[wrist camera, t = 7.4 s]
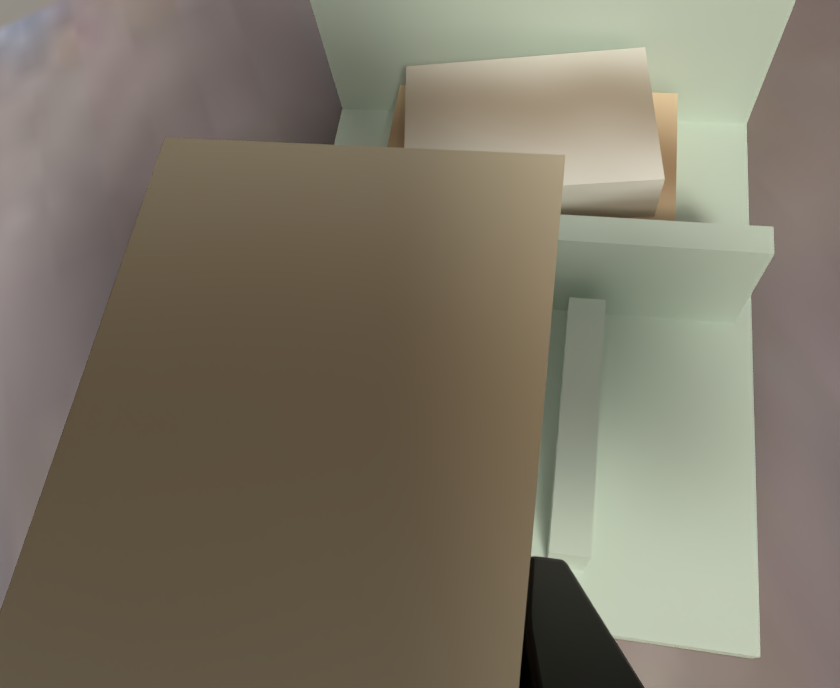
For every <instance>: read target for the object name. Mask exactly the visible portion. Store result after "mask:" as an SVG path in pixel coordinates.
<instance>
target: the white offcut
mask: <svg viewBox="0 0 840 688" xmlns="http://www.w3.org/2000/svg"><path fill="white" fill-rule="evenodd" d="M404 148H419V149H441V150H464V151H486V152H508V153H531V154H553V155H565V167H564V179H563V190H562V202H561V213H560V214H562V215H579V216H596V217H614V218H632V217H650V216H655V212H656V209H657V205H658V202H659V198H660V195H661V191H662V188H663V184H664V180H665V177H664V170H663V163H662V157H661V150H660V143H659V137H658V130H657V123H656V116H655V110H654V103H653V96H652V90H651V83H650V76H649V70H648V63H647V56H646V50H645V47H640V48H628V49H615V50H603V51H590V52H578V53H566V54H553V55H541V56H528V57H516V58H503V59H491V60H478V61H466V62H454V63H441V64H429V65H416V66H406V95H405V141H404Z"/></svg>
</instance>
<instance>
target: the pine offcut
mask: <svg viewBox="0 0 840 688" xmlns="http://www.w3.org/2000/svg"><path fill="white" fill-rule="evenodd" d="M405 95H406V85H403V84H400V87H399V92H398V97H397V101H396V106H395V111H394V116H393V121H392V126H391V131H390V136H389V141H388V146H387V147H396V148H404V141H405ZM652 96H653V103H654V110H655V116H656V123H657V130H658V137H659V143H660V150H661V157H662V163H663V170H664V177H665V180H664V184H663V188H662V191H661V195H660V198H659V202H658V205H657V209H656V212H655V216H650V217H632V218H631V219H648V220H665V221H676V169H677V116H678V93H657V92H652Z"/></svg>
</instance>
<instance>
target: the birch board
mask: <svg viewBox="0 0 840 688" xmlns="http://www.w3.org/2000/svg"><path fill="white" fill-rule="evenodd" d="M564 167H565V155H553V154H531V153H508V152H486V151H464V150H441V149H419V148H396V147H374V146H351V145H329V144H307V143H284V142H262V141H239V140H217V139H194V138H172V137H165V139H164V142H163V145H162V147H161V150H160V153H159V156H158V159H157V162H156V165H155V168H154V170H153V173H152V176H151V179H150V182H149V185H148V188H147V191H146V193H145V196H144V199H143V202H142V205H141V208H140V211H139V214H138V216H137V219H136V222H135V225H134V228H133V231H132V234H131V237H130V239H129V242H128V245H127V248H126V251H125V254H124V257H123V260H122V263H121V265H120V268H119V271H118V274H117V277H116V280H115V283H114V286H113V288H112V291H111V294H110V297H109V300H108V303H107V306H106V309H105V311H104V314H103V317H102V320H101V323H100V326H99V329H98V332H97V334H96V337H95V340H94V343H93V346H92V349H91V352H90V355H89V357H88V360H87V363H86V366H85V369H84V372H83V375H82V378H81V380H80V383H79V386H78V389H77V392H76V395H75V398H74V401H73V403H72V406H71V409H70V412H69V415H68V418H67V421H66V424H65V426H64V429H63V432H62V435H61V438H60V441H59V444H58V447H57V449H56V452H55V455H54V458H53V461H52V464H51V467H50V470H49V472H48V475H47V478H46V481H45V484H44V487H43V490H42V493H41V495H40V498H39V501H38V504H37V507H36V510H35V513H34V516H33V519H32V521H31V524H30V527H29V530H28V533H27V536H26V539H25V542H24V544H23V547H22V550H21V553H20V556H19V559H18V562H17V565H16V567H15V570H14V573H13V576H12V579H11V582H10V585H9V588H8V590H7V593H6V596H5V599H4V602H3V605H2V608H1V611H0V688H519V684H520V673H521V661H522V650H523V638H524V627H525V616H526V604H527V593H528V582H529V571H530V559H531V550H532V538H533V527H534V515H535V503H536V492H537V480H538V469H539V457H540V445H541V434H542V422H543V411H544V399H545V387H546V376H547V364H548V353H549V341H550V329H551V318H552V306H553V295H554V283H555V271H556V260H557V248H558V237H559V225H560V213H561V202H562V190H563V179H564Z"/></svg>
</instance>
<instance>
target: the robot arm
mask: <svg viewBox="0 0 840 688" xmlns="http://www.w3.org/2000/svg"><path fill="white" fill-rule="evenodd" d="M519 688H644V686H643V685H642V683H641V681H640V680H639V678H638V677H637V675H636V673H635V672H634V670H633V668H632V667H631V665H630V664H629V662H628V660H627V659H626V657H625V656H624V654H623V652H622V651H621V649H620V648H619V646H618V644H617V643H616V641H615V640H614V638H613V636H612V635H611V633H610V632H609V630H608V628H607V627H606V625H605V624H604V622H603V620H602V619H601V617H600V615H599V614H598V612H597V611H596V609H595V607H594V606H593V604H592V603H591V601H590V599H589V598H588V596H587V595H586V593H585V591H584V590H583V588H582V587H581V585H580V583H579V582H578V580H577V579H576V577H575V575H574V574H573V572H572V571H571V569H570V567H569V566H568V564H567V563H566V562H565V561H564V560H561V559H554V558H547V557H539V556H532V557H531V559H530V571H529V582H528V593H527V604H526V616H525V627H524V638H523V650H522V661H521V673H520V684H519Z"/></svg>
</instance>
